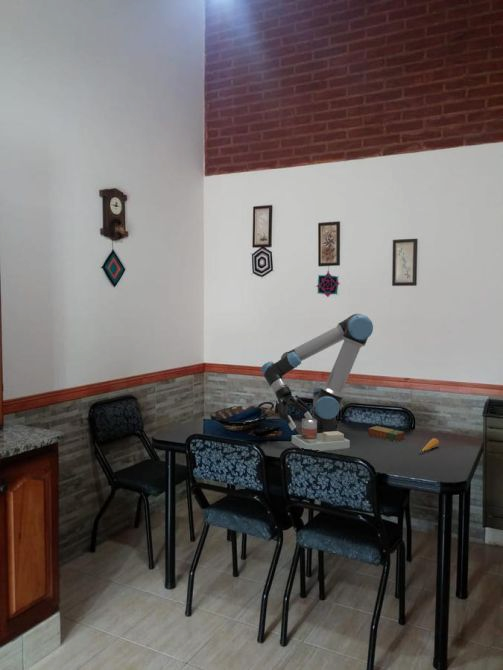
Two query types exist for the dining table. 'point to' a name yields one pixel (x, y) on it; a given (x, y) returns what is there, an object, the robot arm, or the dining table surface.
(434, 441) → the carrot
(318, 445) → the tote
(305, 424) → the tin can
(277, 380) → the robot arm
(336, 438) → the beige rectangular block
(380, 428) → the carton
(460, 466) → the dining table surface
